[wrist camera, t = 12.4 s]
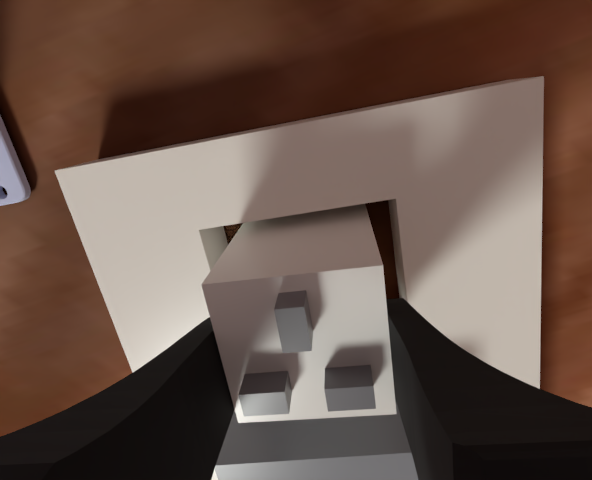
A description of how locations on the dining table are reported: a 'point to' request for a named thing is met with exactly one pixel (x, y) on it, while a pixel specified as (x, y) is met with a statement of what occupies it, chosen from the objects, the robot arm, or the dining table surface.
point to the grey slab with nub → (317, 450)
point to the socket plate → (334, 194)
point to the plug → (303, 318)
